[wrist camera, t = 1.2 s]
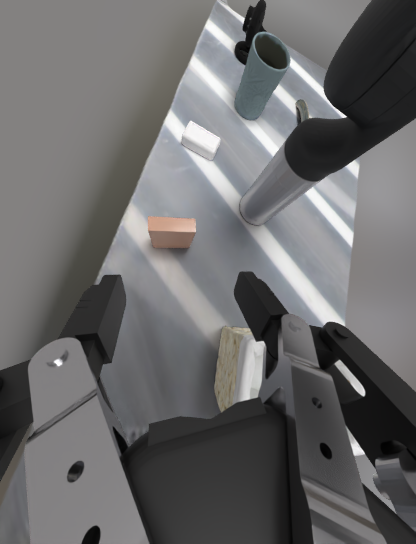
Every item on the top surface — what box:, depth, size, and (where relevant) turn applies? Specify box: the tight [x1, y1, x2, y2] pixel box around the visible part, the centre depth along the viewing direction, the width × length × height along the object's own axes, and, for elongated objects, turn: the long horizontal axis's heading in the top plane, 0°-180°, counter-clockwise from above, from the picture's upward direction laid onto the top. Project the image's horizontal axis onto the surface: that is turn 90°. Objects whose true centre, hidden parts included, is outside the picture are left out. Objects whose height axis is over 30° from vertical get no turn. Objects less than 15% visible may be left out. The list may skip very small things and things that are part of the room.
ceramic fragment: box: [296, 99, 309, 122], centre depth 52 cm, size 14×5×4 cm, turn 179°
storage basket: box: [214, 326, 365, 456], centre depth 31 cm, size 24×16×15 cm
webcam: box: [235, 0, 267, 65], centre depth 47 cm, size 8×8×10 cm
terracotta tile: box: [148, 216, 196, 248], centre depth 32 cm, size 3×8×10 cm, turn 93°
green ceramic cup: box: [235, 32, 290, 120], centre depth 43 cm, size 10×10×12 cm
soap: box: [182, 121, 221, 161], centre depth 42 cm, size 9×6×3 cm, turn 68°
